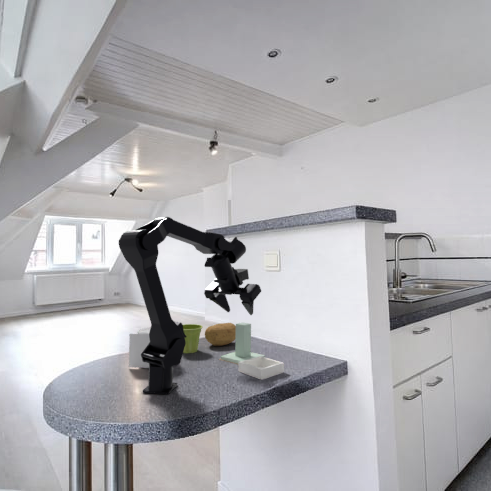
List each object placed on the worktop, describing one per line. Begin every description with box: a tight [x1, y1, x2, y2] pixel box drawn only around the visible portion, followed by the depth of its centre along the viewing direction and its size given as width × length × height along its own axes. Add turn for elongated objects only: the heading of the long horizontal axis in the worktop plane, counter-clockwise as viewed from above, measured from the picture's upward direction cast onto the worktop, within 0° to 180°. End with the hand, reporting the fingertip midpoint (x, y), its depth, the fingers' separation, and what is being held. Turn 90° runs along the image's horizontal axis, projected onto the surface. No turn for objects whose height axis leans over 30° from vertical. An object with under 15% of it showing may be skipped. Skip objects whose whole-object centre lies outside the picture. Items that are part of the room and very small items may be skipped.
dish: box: [238, 356, 285, 381], centre depth 93 cm, size 9×9×3 cm
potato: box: [204, 322, 236, 347], centre depth 124 cm, size 10×14×8 cm
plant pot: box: [182, 323, 203, 354], centre depth 115 cm, size 9×9×9 cm
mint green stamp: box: [220, 322, 266, 365], centre depth 106 cm, size 10×10×11 cm
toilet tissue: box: [128, 326, 165, 369], centre depth 101 cm, size 11×12×10 cm
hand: (240, 312), depth 106 cm, fingers open, 9 cm apart
